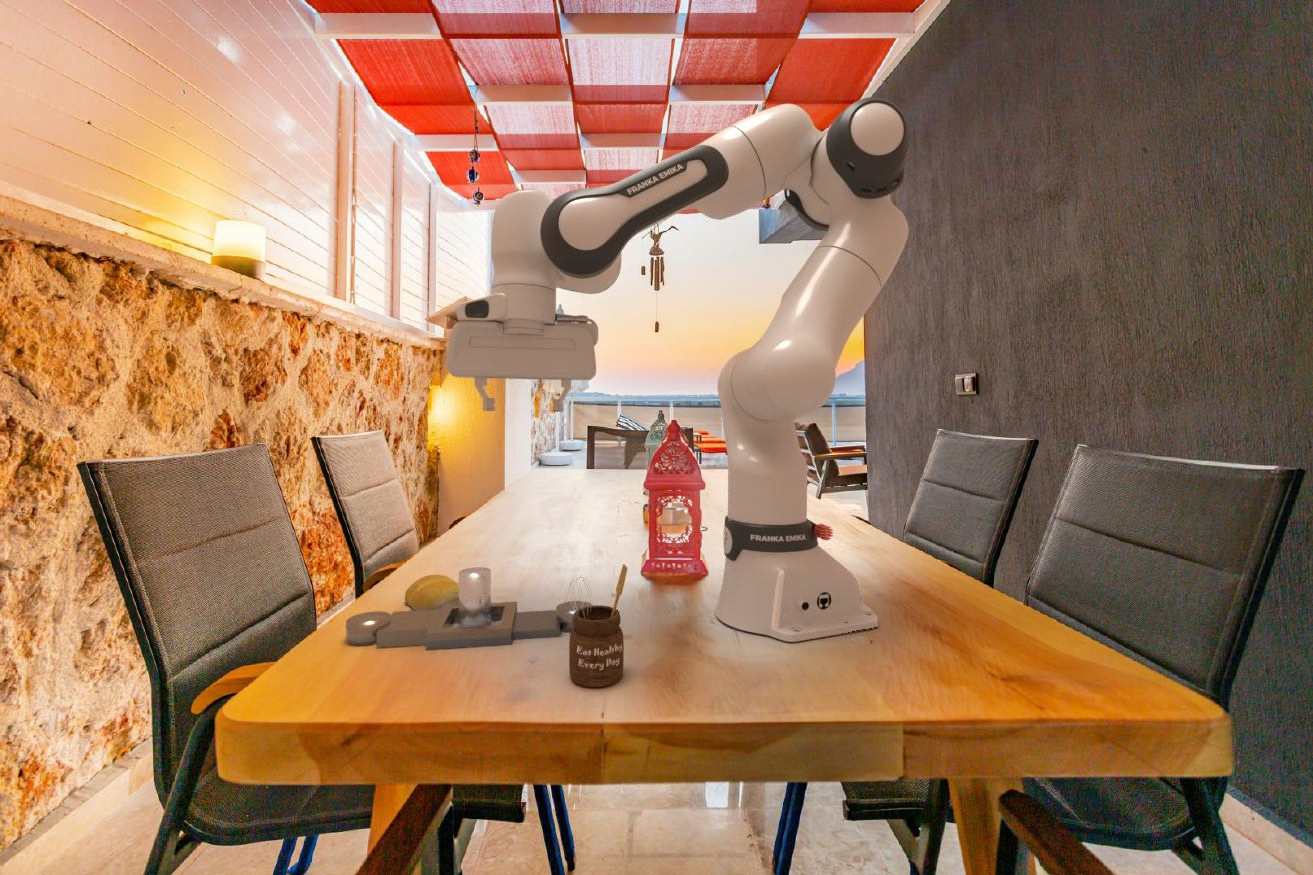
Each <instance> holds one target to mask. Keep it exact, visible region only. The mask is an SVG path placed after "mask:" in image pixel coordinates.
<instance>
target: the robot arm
mask: <svg viewBox="0 0 1313 875" xmlns="http://www.w3.org/2000/svg"><path fill="white" fill-rule="evenodd" d="M813 122H814V121H813V120H812V118H811V117H810V115H809V113H808V112H807V111H805V109H804V108H802V107H800V106H799V105H796V104H793V103H783V104H779V105H776V106H775V105H774V106H771V107H768V108H767V109H763V110H760V111H758V112H756V113H754V114H751V115H748V116H747V117H745V118H743V119H740V120H738V121H736V122H734V123H733V124H731V125H729V126H727V127H725V128H724V129H722V130H720V131H718V132H717V133H715V134H714V135H712V136H710V137H708V138H706V139H705V140H704V141H702V142H700V143H698V144H697V145H694V146H692V147H690V148H688V149H686V150H683V151H681V152H679V153H676V154H674V155H671V156H669V157H667V158H665V159H663V160H661V161H659V162H657V163H655V164H652V165H651V166H648V167H645V168H644V169H643V170H639V171H637V172H636V173H634V174H632V175H629V176H628V177H626V178H623V179H622V180H619V181H617V182H614V183H611V184H608V185H604V186H600V187H599V186H598V187H589V188H579V189H573V190H570V191H567V192H564V193H563V194H561V195H559V196H557V197H555V199H552V198H551V197H550V196H549V195H548V194H547V193H545V192H543V191H542V190H541V191H539V190H535V189H518V190H515V191H512V192H509V194H506V195H505V196H503V197H502V198H501V199H500V200H499V201H498V202H497V204H496V206H495V209H494V213H493V219H492V227H491V228H492V229H491V241H490V242H491V244H490V246H491V247H490V248H491V249H490V252H491V254H490V255H491V257H490V258H491V262H492V265H493V271H494V273H493V277H492V283H491V288H490V290H491V291H490V292H491V294H490V295H486V296H483V297H478V298H476V299H472V300H467V301H463V302H460V303H457V305H456V306H455V307H456V308H455V313H456V317H457V320H458V322H457V323H455V324H454V325H453V327H452V328H451V330H450V334H449V338H448V344H447V355H446V369H447V371H448V372H449V374H450V375H451V376H452V377H454V378H457V379H458V378H460V379H461V378H463V379H468V378H469V379H474V388H476V390H477V392H478V394H479V395H480V396H481V398H482V411H484V412H496V398H494V397H490V396H489V395H488V393H487V392H486V390H485V388H484V387H487V385H488V379H506V380H508V379H509V380H510V379H511V380H513V379H514V380H552V381H557V380H558V381H560V387H561V388H562V389H563V388H564V389H563V391H562V392H561V394H560V396H559V397H558V398H552V412H553V413H554V412H555V413H556V412H557V413H559V412H560V413H561V412H563V413H564V400H565V398H566V397H567V395H568V393H569V392H570V390H571V388H572V381H590V380H593V378H595V376H596V374H597V362H596V361H597V358H596V352H595V346H596V345H597V344H598V342H599V327H598V325H597V322H595V320H593V319H592V318H589V316H588V315H584V314H582V315H581V314H578V315H571V314H566V313H565V314H563V313H562V314H561V313H557V303H556V302H557V289H562V290H565V291H570V292H573V293H580V294H585V295H586V294H587V295H594V294H599V293H602V292H605V291H607V290H608V289H610V288H611V287H612V286H613V285H614V284H615V282H616V281H617V280H618V278H619V275H620V273H621V269H622V252H623V250H624V248H625V247H626V246H627V244H628V243H629V242H630V241H631V240H632V239H633V238H634V237H635V236H636V235H638V234H639V233H642V232H644V231H645V230H647V229H650V228H651V227H654V226H655V225H657V224H660V223H661V222H664V221H665V220H667V219H668V218H669V219H670V218H671V217H672V216H675V215H677V214H679V213H681V212H683V211H685V210H690V209H695V210H697V211H699V213H701V214H702V215H703V216H705V217H707V218H710V219H713V220H718V221H719V220H720V221H721V220H725V219H727V218H730V217H734V216H737V215H739V214H741V213H743V212H745V211H748V210H749V209H751V208H754V207H755V206H756V205H758V204H760V203H762V202H764V201H766V200H767V199H768V198H770V197H771V196H773V195H775V194H777V193H779V192H781V191H783V194H784V199H785V201H786V202H787V204H789V205H790V206H791V207H792V208H794V209H793V210H794V211H795V212H796V214H797V215H798V217H799V218H800V220H802V222H803V223H804V224H806V225H807V226H808V227H810V228H811V229H814V230H815V231H819V232H826V233H825V234H824V236H823V237H822V239H821V240H820V242H819V243H818V244H817V246H816V247H815V249H814V250H813V251H812V253H811V254H810V255H809V257H808V258H807V260H806V261H805V262H804V264H803V266H802V267H801V268H800V270H799V271H798V273H797V274H796V275H795V277H794V278H793V280H792V281H791V282H790V284H789V285H788V287H787V288H786V290H785V291H784V292H783V293H782V296H781V298H780V303H779V305H778V308H777V310H776V312H775V314H774V316H773V318H772V320H771V321H770V323H769V325H768V327H767V329H766V330H765V332H764V333H763V335H762V336H761V337H760V339H759V340H758V341H757V342H756V343H755V344H753V345H752V346H751V347H749V348H747V349H744V350H742V351H740V352H737V353H735V354H734V355H733V356H731V357H730V359H728V361H727V362H726V363H725V365H724V366H723V368H722V370H721V372H720V373H719V376H718V378H717V379H718V380H717V394H718V397H719V400H720V408H721V418H722V426H723V433H724V439H725V446H726V454H727V455H726V456H727V470H728V472H727V486H728V487H727V515H726V516H725V518H724V528H723V534H722V535H723V536H722V538H723V540H722V541H723V543H722V544H723V551H724V552H723V553H724V556H725V561H724V571H723V578H722V583H721V589H720V592H719V598H718V600H717V604H716V607H715V610H714V614H715V616H716V618H717V619H718V620H719V621H721V622H722V623H724V624H726V625H727V626H729V627H732V628H734V629H738V630H741V631H743V632H744V631H745V632H750V633H755V634H759V635H765V636H768V637H772V638H775V639H778V640H780V641H784V642H789V643H795V642H801V641H807V640H812V639H818V638H825V637H831V636H837V635H842V633H843V634H849V633H853V632H852V631H855V632H857V631H856V630H860V631H862V630H861V629H866V630H870V629H869V628H872V629H875V628H874V627H877V626H878V627H879V617H878V615H877V614H876V612H874V610H872V609H871V608H870V607H869V606H867V604H864V603H863V602H862V599H861V591H860V587H859V584H858V581H857V579H856V577H855V576H854V574H853V573H852V572H851V571H850V570H849V569H847V567H845V565H843V564H842V563H840V562H839V561H838V560H836V559H835V558H834V557H833V555H830V554H829V553H828V552H827V551H826V550H824V548H822V547H821V546H820V545H819V541H818V538H820V539H821V540H823V541H829V540H831V539H832V538H831V537H834V535H833V534H834V532H833V531H834V529H832V527H831V526H828V525H825V524H823V523H818V524H817V523H815V522H814V521H812V520H810V519H808V518H807V515H808V513H807V512H808V511H807V510H808V463H807V460H806V458H805V456H804V454H803V452H802V450H801V446H800V443H799V438H798V434H797V428H796V423H795V421H797V420H799V419H802V418H804V417H806V416H809V415H810V414H812V413H814V412H815V411H817V410H819V409H821V407H823V406H824V405H825V404H826V403H827V401H828V400H829V399H830V397H831V396H832V395H833V392H834V389H835V385H836V378H837V377H836V375H837V374H836V368H837V366H838V362H839V360H840V358H841V356H842V354H843V352H844V348H845V347H846V344H847V342H848V341H849V338H850V337H851V335H852V334H853V331H854V330H855V328H856V327H857V325H858V324H859V322H860V321H861V320H862V318H863V317H864V315H865V313H866V312H867V310H868V309H869V308H870V307H871V306H872V304H873V302H874V300H876V298H877V296H878V294H879V293H880V292H881V290H882V288H883V287H884V286H885V284H886V283H887V281H888V279H889V277H891V274H892V273H893V271H894V269H895V266H896V265H897V263H898V261H899V259H900V258H901V257H900V256H901V255H902V252H903V251H904V248H905V245H906V242H907V240H908V238H909V231H910V230H909V223H908V221H907V219H906V216H905V214H904V213H903V212H902V211H901V210H900V209H899V208H898V207H897V206H895V205H894V203H893V202H892V201H891V200H892V199H891V194H892V193H894V192H896V191H897V190H898V189H899V188H900V187H901V186H902V184H903V180H904V174H905V173H904V172H905V171H904V170H905V162H906V158H907V155H908V151H909V146H910V140H911V139H910V138H911V137H910V136H911V135H910V134H911V132H910V125H909V121H908V119H907V117H906V115H905V113H904V111H903V110H902V109H901V108H900V107H899V106H898V105H897V104H896V103H894V102H892V101H891V100H889V99H886V98H883V97H877V96H870V97H869V96H868V97H864V98H861V99H858V100H857V101H855V102H853V103H852V104H850V105H849V106H847V107H846V108H845V109H844V110H843V111H841V112H840V113H839V115H837V116H836V118H834V120H833V121H832V123H831V124H830V127H829V128H828V131H826V132H825V131H821V130H819V129H817V127H815V125H814V123H813ZM788 195H789V196H788ZM878 627H877V628H878ZM848 632H849V633H848Z"/></svg>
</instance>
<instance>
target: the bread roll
mask: <svg viewBox="0 0 1313 875" xmlns="http://www.w3.org/2000/svg"><path fill="white" fill-rule="evenodd" d="M404 600H405V602H406V603H407V604H408V605H409V606H410V607H411V609H412V610H413V611H416V610H435V609H441V608H442V606H443V605H459V582H456V581H455V580H454V579H452V578H450V577H449V576H446V575H443V574H429V575H425V576H422V577H420V578H418V579H417V580H415V581H414V582H413V583H412V584H411V585H409V587H408V588H407V589H406V590H405V593H404Z"/></svg>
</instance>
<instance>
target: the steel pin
mask: <svg viewBox="0 0 1313 875" xmlns="http://www.w3.org/2000/svg"><path fill="white" fill-rule="evenodd" d="M491 570H492V569H491V568H489V567H484V566H483V567H482V566H479V567H478V566H477V567H469V568H468V567H467V568H465V569H461V570H459V571H458V583H459V604H458V605H459V623H458V627H469V626H486V625H492V621H491V603H492V585H491V584H492V581H491V580H492V577H491V576H492V572H491Z"/></svg>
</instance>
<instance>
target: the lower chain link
mask: <svg viewBox="0 0 1313 875" xmlns="http://www.w3.org/2000/svg"><path fill="white" fill-rule="evenodd" d="M571 602H572V604H571ZM583 602H584V604H583ZM574 603H576V604H574ZM581 603H582V605H581ZM572 605H573V606H572ZM575 605H576V606H577V608H576V606H575ZM587 606H590V602H589V601H584V600H581V601H580V600H574V601H573V600H570V601H565V602H562V603H560V604H558V605H557V606H556V607H555V608H556V609H553V610H535V611H532V610H531V611H518V610H517V611H516V616H515V621H514V625H513V630H512V635H511V636H509V637H493V638H477V639H461V640H445V641H429V642H426V645H425V649H426V651H430V650H442V649H443V650H444V649H445V650H446V649H458V648H459V649H461V648H473V647H474V648H475V647H489V646H505V645H512V642H513V640H524V639H541V638H555V637H556V638H557V637H558V638H559V637H561V632H563V633H571V631H572V629H573V628H574V626H573V623H572V621H573V615H574V613H575V611H577V609H580V608H583V607H587ZM592 606H594V605H593V604H592ZM573 607H574V608H573ZM574 609H575V610H574ZM502 615H503V613H494V614H491V622H492V621H501V619H502ZM455 623H456V624H459V615H458V616H452V617H451V619H450V621H449V623H448V625H447V627H446V628H452V624H455Z"/></svg>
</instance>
